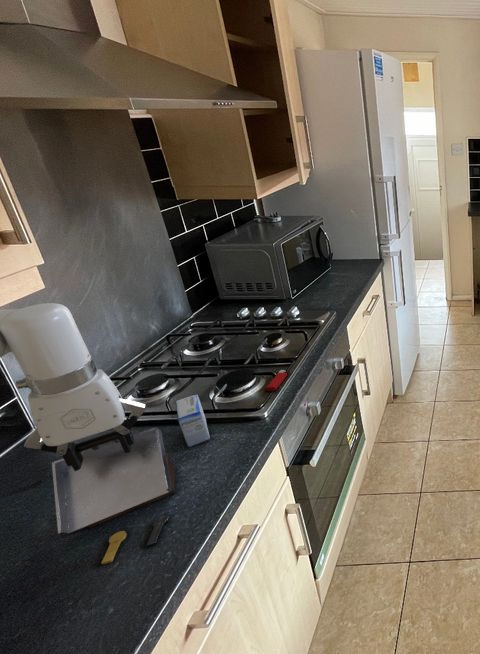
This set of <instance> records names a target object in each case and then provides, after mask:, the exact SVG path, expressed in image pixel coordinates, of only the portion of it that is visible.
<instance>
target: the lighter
mask: <svg viewBox="0 0 480 654" xmlns="http://www.w3.org/2000/svg"><path fill="white" fill-rule="evenodd" d="M288 375H289V372H288V371H286V369H280V370H279V371H278V372H277V373H276V375H275V376H274V377H273V379H272V380H271V381H270V382H269V383H268V385H267V386H266V387H265V391H267V392H275V391H277V389H278V388H279V387H280V386H281V384H282V383H283V382H284V381H285V379H286V377H288Z"/></svg>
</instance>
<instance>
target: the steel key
mask: <svg viewBox="0 0 480 654" xmlns="http://www.w3.org/2000/svg"><path fill="white" fill-rule="evenodd" d="M169 521H170V517H169V515H167V514H163V515H160V516H158V517H157V518H156V519H154V520H153V522H152V527H153V528H152V531H151V533H150V535H149V538H148V540H147V543H146V547H152V546H155V545H157V544H158V541H159V539H160V536H161V533H162V531H163V529H164V527H165V526H166V525H167V524H168V522H169Z"/></svg>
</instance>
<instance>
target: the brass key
mask: <svg viewBox="0 0 480 654" xmlns="http://www.w3.org/2000/svg"><path fill="white" fill-rule="evenodd" d="M127 535H128V534H127V532H126V531H125V530H120V531H117V532H115V533H113V534H112V535H111V536H110V537H109V538H108V543H109V545H108V548H107V550H106V551H105V554H104V556H103V558H102V561H101V562H100V563H101V565H102V566H103V565H106V564H109V563H112V562H113V561H114V559H115V556H116V554H117V552H118V550H119V547H120V545H121V543H122V542H123V541H125V539H126V538H127Z"/></svg>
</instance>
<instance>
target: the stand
mask: <svg viewBox="0 0 480 654" xmlns="http://www.w3.org/2000/svg"><path fill="white" fill-rule="evenodd" d="M165 453H166V459H167V464H168V470H169V475H170V481H171V486H172V491H171V492H169V493H166V494H164V495H162V496H159V497H157V498H154V499H152V500H149V501H147V502H145V503H142V504H140V505H137V506H135V507H132V508H130V509H128V510H125V511H123V512H120V513H118V514H115V515H113V516H111V517H108V518H106V519H103V520H101V521H98V522H96V523H94V524H91V525H89V526H87V527H88V529H91V528H94V527H95V526H98V525H101V524H103V523H105V522H108V521H110V520H113V519H115V518H118V517H120V516H123V515H125V514H127V513H130V512H132V511H134V510H137V509H139V508H142V507H145V506H146V505H149V504H152V503H153V502H156V501H159V500H161V499H164V498H166V497H168V496H171V495H172V494H175V492H176V491H175V489H176V488H175V486H176V485H175V483H176V482H175V481H176V480H175V477H176V476H175V475H176V474H175V472H176V470H175V467H174V465H173V462H172V460H171V457H170V455H169V453H167V452H165Z"/></svg>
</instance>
